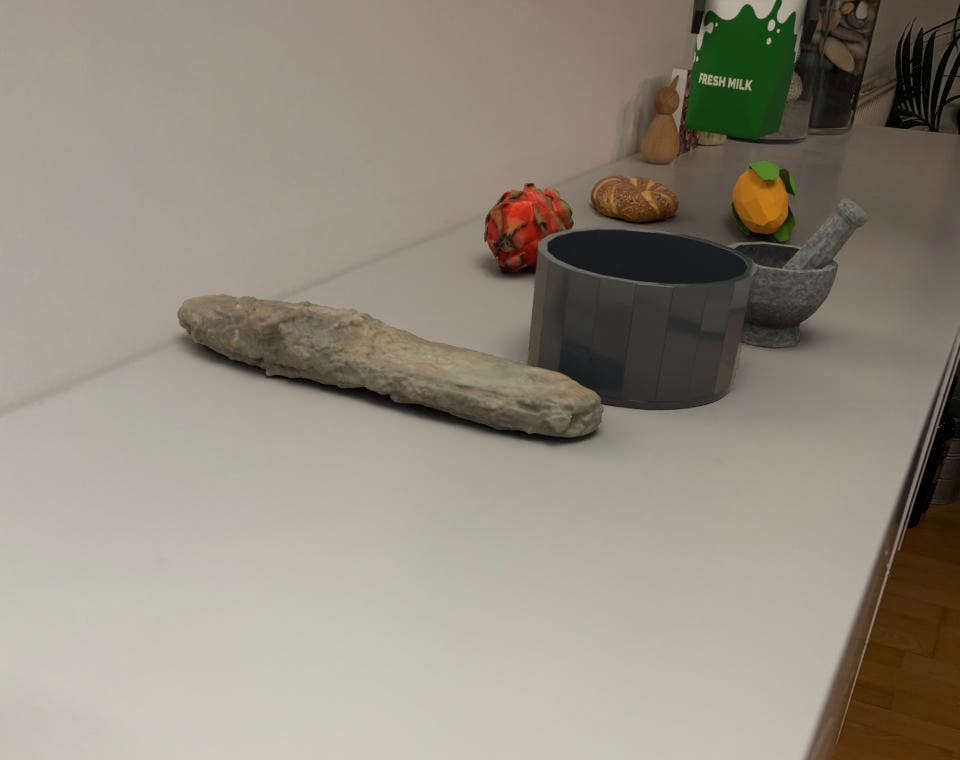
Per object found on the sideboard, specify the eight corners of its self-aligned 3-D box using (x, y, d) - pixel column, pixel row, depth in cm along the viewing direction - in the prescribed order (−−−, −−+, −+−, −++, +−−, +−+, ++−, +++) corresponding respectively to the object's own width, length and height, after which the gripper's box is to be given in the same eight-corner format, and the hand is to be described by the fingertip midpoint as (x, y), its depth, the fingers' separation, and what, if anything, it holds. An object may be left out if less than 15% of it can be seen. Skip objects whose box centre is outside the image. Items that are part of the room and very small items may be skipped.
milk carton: (672, 128, 102) (711, -132, 91) (706, 119, 108) (747, -125, 97) (761, 143, 98) (814, -126, 87) (791, 132, 105) (844, -119, 94)
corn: (794, 152, 132) (815, 184, 116) (785, 217, 136) (803, 257, 120) (733, 151, 133) (744, 182, 116) (725, 216, 137) (735, 255, 121)
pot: (748, 358, 91) (771, 248, 86) (710, 425, 78) (735, 300, 73) (563, 324, 95) (574, 217, 90) (498, 382, 82) (507, 261, 77)
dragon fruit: (557, 271, 115) (505, 315, 107) (500, 212, 114) (443, 252, 106) (605, 214, 109) (554, 256, 101) (545, 151, 108) (489, 188, 100)
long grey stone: (563, 481, 72) (614, 438, 79) (578, 405, 69) (629, 368, 77) (143, 343, 82) (225, 318, 90) (141, 273, 79) (226, 253, 87)
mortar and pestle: (704, 344, 93) (731, 197, 86) (709, 313, 101) (735, 175, 94) (837, 362, 91) (876, 214, 85) (832, 329, 99) (867, 191, 92)
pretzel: (676, 229, 128) (681, 195, 126) (584, 219, 129) (588, 186, 127) (677, 207, 138) (681, 176, 136) (592, 198, 139) (595, 167, 137)
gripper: (879, -138, 103) (865, 68, 99) (649, -155, 104) (625, 47, 100) (907, -214, 96) (893, 4, 91) (659, -231, 97) (634, -17, 93)
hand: (753, 27), depth 96 cm, fingers closed on milk carton, 9 cm apart
